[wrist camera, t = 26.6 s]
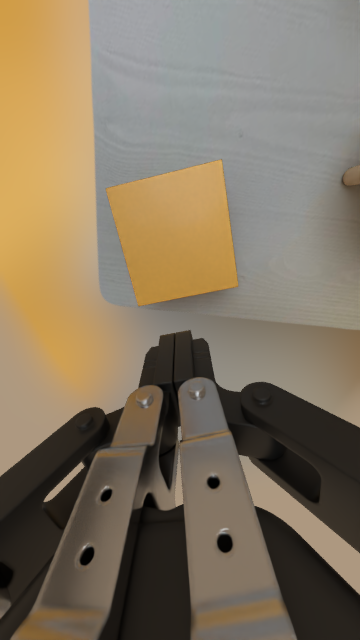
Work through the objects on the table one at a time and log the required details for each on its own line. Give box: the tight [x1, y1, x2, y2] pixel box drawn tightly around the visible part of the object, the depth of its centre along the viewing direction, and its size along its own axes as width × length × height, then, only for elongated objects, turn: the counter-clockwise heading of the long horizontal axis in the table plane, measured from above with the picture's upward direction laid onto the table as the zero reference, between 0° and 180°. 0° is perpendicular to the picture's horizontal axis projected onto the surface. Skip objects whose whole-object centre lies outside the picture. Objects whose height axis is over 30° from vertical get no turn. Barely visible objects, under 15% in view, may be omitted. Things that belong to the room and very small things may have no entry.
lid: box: [106, 159, 238, 306], centre depth 28 cm, size 14×13×1 cm
